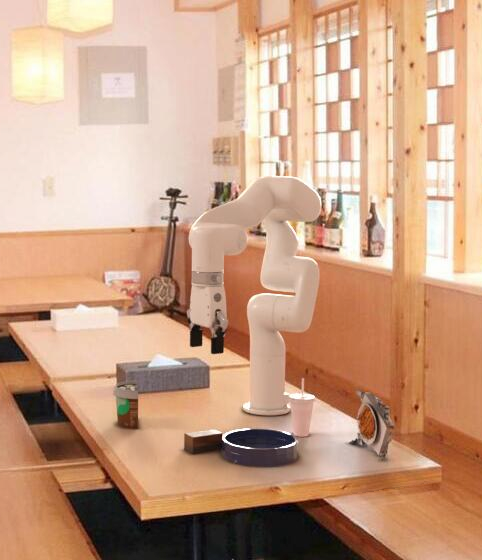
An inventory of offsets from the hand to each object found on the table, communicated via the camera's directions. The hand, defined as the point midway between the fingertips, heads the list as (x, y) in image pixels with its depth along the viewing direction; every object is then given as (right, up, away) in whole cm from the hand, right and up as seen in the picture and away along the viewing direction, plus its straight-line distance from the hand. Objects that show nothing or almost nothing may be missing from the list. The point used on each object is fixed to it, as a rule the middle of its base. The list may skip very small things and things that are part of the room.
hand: (206, 349), depth 250 cm
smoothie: (+24, -22, +9) cm, 33 cm away
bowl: (+12, -24, -9) cm, 28 cm away
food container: (-20, -20, +18) cm, 34 cm away
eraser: (-1, -23, -5) cm, 23 cm away
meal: (+38, -24, -4) cm, 45 cm away
